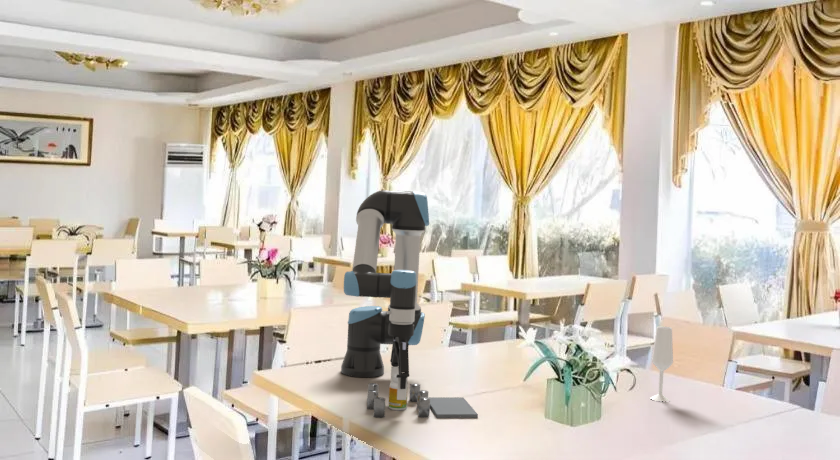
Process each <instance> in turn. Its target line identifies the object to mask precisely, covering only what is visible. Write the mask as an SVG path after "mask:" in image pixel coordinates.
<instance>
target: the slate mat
mask: <svg viewBox="0 0 840 460" xmlns="http://www.w3.org/2000/svg"><path fill="white" fill-rule="evenodd" d="M428 398H430V410H431V411H432V412H433V414H434V415H436V416H435V417H436V418H437V419H454V418H455V419H457V418H459V419H467V418H471V419H476V418H477V419H478V417H479V415H478V413H477V412H476V410H475V409H474V408H473V406H471V405H470V403H469V402H468V401H467V400H466V398H464V396H463V397H460V396H459V397H458V396H457V397H454V396H453V397H450V396H449V397H448V396H446V397H434V396H433V397H429V396H428Z"/></svg>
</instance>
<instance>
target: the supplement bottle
mask: <svg viewBox="0 0 840 460" xmlns="http://www.w3.org/2000/svg"><path fill="white" fill-rule="evenodd" d="M397 375H399V374H395V375H392V381H393V382H391V381H390V383H389V387H388V388H389V390H388V391H389V392H388V409H390V410H393V411H404V410H406V409H407V407H408V403H407V402H408V398H407V399H406V400H397V385H398V378H396V376H397ZM407 389H408V384H407Z"/></svg>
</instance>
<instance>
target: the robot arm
mask: <svg viewBox="0 0 840 460" xmlns="http://www.w3.org/2000/svg"><path fill="white" fill-rule="evenodd" d="M429 215H430V214H429V206H428V196H427V194H426V193H424V192H422V191H421V192H420V191H414V190H413V191H411V190H408V191H407V190H387V189H383V190H382V189H380V190H378V191H376V192H373V193H372V194H370V195H369V196H367V197H366V198H365V199H364V200H363V201H362V203H360V205H359V207H358V209H357V212H356V218H355V221H356V222H355V223H356V224H357V231H356V240H355V246H354V247H355V248H354V254H353V261H352V263H353V264H352V269H351V271H350V270H349V271H346V272H345V273H344V278H343V293H344V295H346V296H349V297H361V298H362V297H364V298H385V299H387V298H388V299H389V304H388V306H387V310H383V307H382V306H379V305H369V306H368V305H367V306H359V307H355V308H352V309H351V310H349V312H348V321H347V325H348V326H347V342H346V343H347V344H346V347H347V348H346V353H345V355H344V357H343V361H342V362H341V368H340V372H341V374H343V375H345V376H348V377H355V378H376V377H380V376H383V375H384V374H385V365H384V361H383V358H382V354H381V345H392V347H391V353H390V354H391V355H390V360H389V361H390V367H391V369H390V383H391V382H393V381H392V375H395V374H399V375H397V376H396V378H398V385H397V400H406V399H407V400H408V388H407V385H408V378H409V377H410V367H409V366H410V365H409V364H410V361H409V346H417V345H419V344H420V342H421V338H422V335H423V329H424V325H425V324H424V322H425V319H426V317H425V315H426V314H425V313H424V312H422V307H421V306H420V305H419V303H418V292H419V291H418V289H419V288H418V287H419V270H420V269H419V268H420V267H419V265H420V250H421V249H420V247H421V235H422V234H423V233H424V232H425V231H426V227H428V226H430V218H429V217H430V216H429ZM384 224H388V225H391V230H392V231H393V233H394V234H395V247H394V263H393V264H394V265H393V266H394V267H393V268H394V270H392V271H391V273H390V272H389V273H385V272H377V267H378V257H379V246H380V236H381V228H382V227H383V226H384Z"/></svg>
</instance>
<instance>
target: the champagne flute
mask: <svg viewBox="0 0 840 460" xmlns="http://www.w3.org/2000/svg"><path fill="white" fill-rule="evenodd" d="M652 349H653V350H652V356H651V362H652V363H653V365H654V366H655V368H656V369H657V370H658V371H659V378H658V379H659V380H658V393H657V394H655V395H653V396H651V397H649V398H650V399H652V400H655V401H654V402H656V401H669V400H670V399H669V398H668V397H666V396H665V395H664V394H663V385H664V371H667V370H668V369H669V368H670V367H671V366H672V365H673V363H674V351H673V350H674V349H673V328H672V327H670V326H661V325H660V326H656V331H655V336H654V343H653V348H652ZM650 399H649V400H650ZM652 400H651V401H652Z"/></svg>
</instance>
